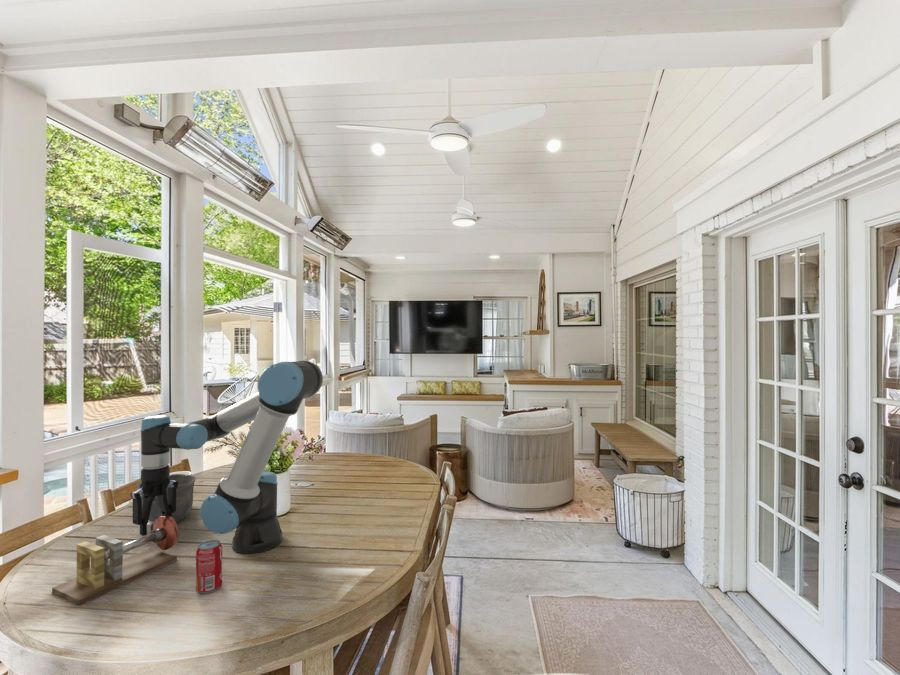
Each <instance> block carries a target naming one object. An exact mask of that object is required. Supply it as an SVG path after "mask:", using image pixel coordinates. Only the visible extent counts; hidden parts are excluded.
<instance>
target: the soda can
mask: <svg viewBox="0 0 900 675" xmlns="http://www.w3.org/2000/svg"><path fill="white" fill-rule="evenodd" d="M222 584H223V544H222V543H221V540H218V539H211V540H205V541H202V542H201V543H199V544H198V545H197V549H196V550H195V591H196V592H198V593H199V594H203V595H204V594H205V595H206V594H211V593H213V592H216V591H217V590H218V589H219V588H220V587H221V586H222Z"/></svg>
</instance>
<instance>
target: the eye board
mask: <svg viewBox="0 0 900 675" xmlns="http://www.w3.org/2000/svg"><path fill="white" fill-rule="evenodd" d="M123 545H124V543H123V540H120V539H117V538H115V537H112V536H108V535H105V534H103V535H100V536H97V537H95V543H91V542H89V541H82V542H79V543H77V544H76V577H75V578H72V579H70V580H68V581H65V582H64V583H62V584H58V585H56V586H53V587H52V588H51V591H52V592H51V593H52V594H54V595H57V596H59V597H62V598H63V599H66V600H67V601H70V602H73V603H75V604H76V605H78V606H81V605H83V604H84V603H88V602H89V601H91V600H94V599H96V598H98V597H100V596H103V595H105V594H107V593H109V592H111V591H113V590H116V589H118V588H119V587H123V586H124V585H127V584H128V583H132V582H133V581H135V580H138V579H140V578H142V577H145V576H146V575H148V574H150V573H153V572H155V571H157V570H160V569H162V568H164V567H167V566H168V565H170V564H173V563H175V562H176V561H177V560H178V559H177V558H178V557H177V556H175V555H172V554H169V553H166V552H164V551H161V550H157V549H155V548H151V547H150V548H147V549H143V550H142V551H140V552H137V553H135V554H132V555H129V556H128V557H125V558H123V554H124V553H123ZM108 550H110V559H107V560H106V559H105V558H104V552H106V551H108Z"/></svg>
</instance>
